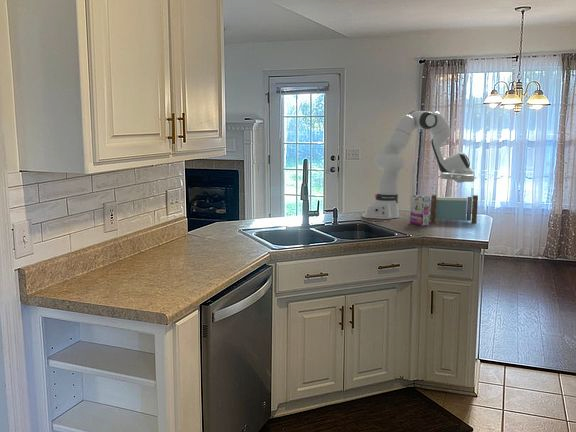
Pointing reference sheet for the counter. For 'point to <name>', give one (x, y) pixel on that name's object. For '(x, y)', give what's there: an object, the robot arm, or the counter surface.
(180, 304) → the counter surface
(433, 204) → the post
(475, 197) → the gate post
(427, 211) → the candy bar box
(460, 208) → the gate
